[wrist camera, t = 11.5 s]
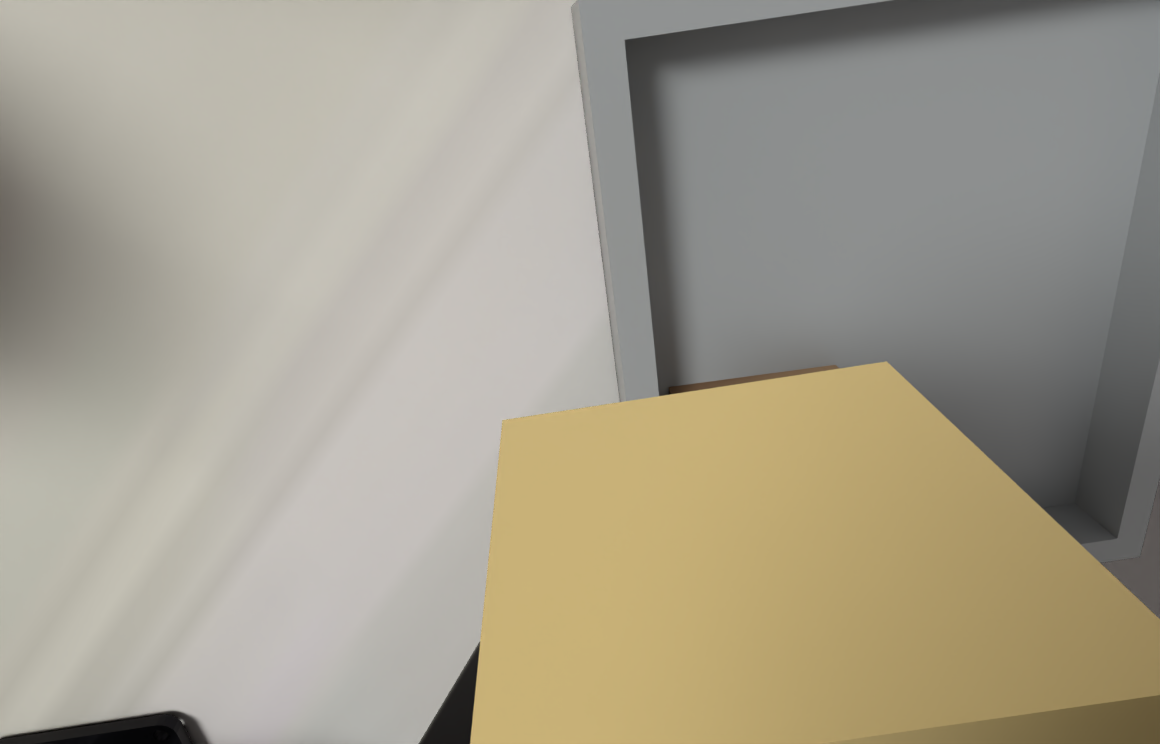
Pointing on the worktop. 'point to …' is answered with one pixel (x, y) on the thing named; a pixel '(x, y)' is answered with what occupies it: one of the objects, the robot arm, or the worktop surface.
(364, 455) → the worktop surface
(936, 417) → the mustard block
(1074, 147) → the tray
